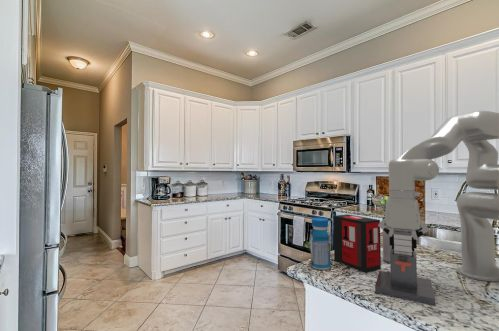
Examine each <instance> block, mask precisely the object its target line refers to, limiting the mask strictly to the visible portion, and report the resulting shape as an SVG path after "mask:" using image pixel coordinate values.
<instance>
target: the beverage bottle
mask: <svg viewBox="0 0 499 331" xmlns="http://www.w3.org/2000/svg"><path fill="white" fill-rule="evenodd" d="M311 226H312V227H313V228H311V231H310V238H309V243H310V266H311V268H313V269H315V270H320V271H326V270H327V271H328V270H330V269H331V267H332V264H331V244H332V243H331V242H332V240H331V239H330V238H331V233H330V231H329V229H328V227H329V219H328V218H326V217H312V218H311Z"/></svg>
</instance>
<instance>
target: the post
mask: <svg viewBox="0 0 499 331" xmlns="http://www.w3.org/2000/svg"><path fill="white" fill-rule="evenodd" d="M393 232H394V254H397V255H404V256H411V257H412V232H411V230H403V229H394V231H393Z"/></svg>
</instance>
